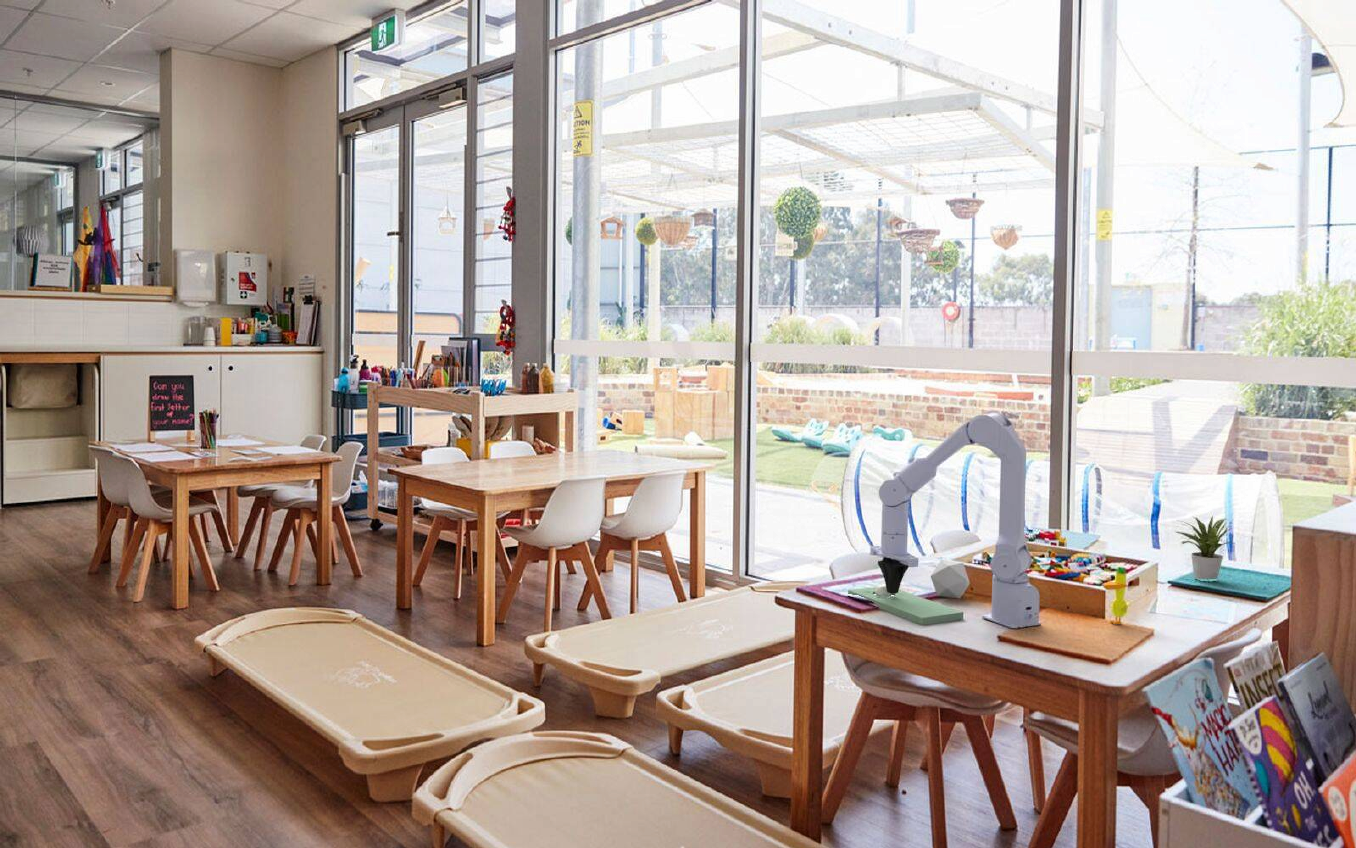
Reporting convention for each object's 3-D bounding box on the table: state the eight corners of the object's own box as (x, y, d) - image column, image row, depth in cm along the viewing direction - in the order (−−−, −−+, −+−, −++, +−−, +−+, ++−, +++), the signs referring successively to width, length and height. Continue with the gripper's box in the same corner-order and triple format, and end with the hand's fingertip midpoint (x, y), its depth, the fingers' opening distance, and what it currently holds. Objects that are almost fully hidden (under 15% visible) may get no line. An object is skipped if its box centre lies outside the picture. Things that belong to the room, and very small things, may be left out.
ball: (893, 583, 244) (882, 584, 247) (881, 584, 242) (871, 586, 245) (895, 598, 243) (885, 600, 246) (883, 600, 241) (873, 601, 244)
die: (973, 597, 251) (954, 560, 255) (979, 586, 243) (959, 548, 247) (940, 610, 250) (922, 572, 254) (946, 600, 242) (926, 561, 246)
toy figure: (1107, 627, 224) (1109, 570, 223) (1095, 622, 227) (1098, 566, 226) (1134, 625, 226) (1137, 568, 225) (1123, 620, 229) (1125, 564, 228)
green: (963, 619, 229) (963, 612, 229) (922, 625, 224) (922, 618, 224) (886, 591, 252) (887, 585, 252) (847, 596, 247) (848, 590, 247)
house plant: (1191, 570, 279) (1194, 507, 278) (1247, 580, 268) (1250, 515, 267) (1164, 577, 270) (1167, 512, 269) (1221, 588, 259) (1224, 521, 258)
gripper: (860, 528, 244) (858, 587, 246) (900, 539, 232) (898, 602, 233) (885, 526, 248) (883, 584, 249) (926, 537, 235) (924, 598, 236)
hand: (892, 592), depth 241 cm, fingers closed
